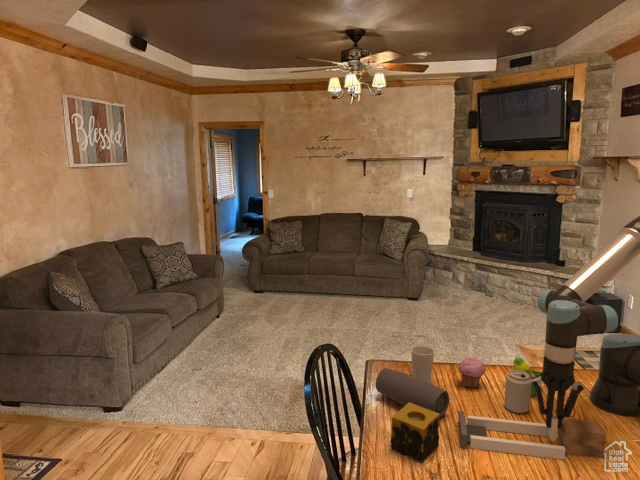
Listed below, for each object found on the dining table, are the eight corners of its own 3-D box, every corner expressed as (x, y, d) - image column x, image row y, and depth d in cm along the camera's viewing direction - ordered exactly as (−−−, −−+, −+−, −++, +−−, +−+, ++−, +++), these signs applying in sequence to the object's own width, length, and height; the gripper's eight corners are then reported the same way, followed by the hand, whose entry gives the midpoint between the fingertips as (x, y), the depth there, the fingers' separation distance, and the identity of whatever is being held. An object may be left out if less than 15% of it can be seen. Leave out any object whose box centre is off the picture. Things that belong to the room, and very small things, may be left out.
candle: (407, 432, 140) (408, 401, 139) (439, 445, 134) (441, 413, 132) (389, 449, 133) (390, 416, 131) (422, 463, 126) (423, 429, 125)
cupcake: (460, 377, 175) (462, 351, 173) (485, 382, 171) (487, 356, 169) (455, 388, 167) (457, 361, 165) (481, 393, 163) (483, 366, 161)
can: (531, 415, 149) (534, 379, 147) (506, 413, 150) (508, 377, 148) (526, 403, 156) (529, 369, 154) (502, 401, 158) (504, 367, 156)
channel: (553, 434, 139) (554, 424, 139) (564, 459, 128) (565, 449, 127) (467, 424, 144) (467, 415, 144) (470, 448, 133) (470, 438, 132)
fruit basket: (536, 400, 159) (539, 368, 157) (508, 393, 163) (510, 362, 161) (541, 386, 168) (544, 355, 166) (514, 380, 173) (516, 350, 171)
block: (596, 445, 134) (598, 422, 133) (603, 458, 128) (606, 434, 127) (557, 440, 136) (559, 417, 135) (562, 453, 130) (565, 429, 129)
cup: (406, 378, 174) (407, 347, 172) (425, 375, 176) (426, 344, 174) (417, 388, 167) (418, 356, 164) (437, 385, 169) (438, 353, 167)
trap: (484, 425, 144) (485, 413, 143) (489, 451, 131) (490, 438, 131) (458, 422, 145) (459, 410, 145) (460, 447, 133) (461, 434, 132)
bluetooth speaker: (449, 414, 150) (451, 384, 148) (433, 426, 144) (434, 395, 142) (391, 389, 166) (391, 362, 164) (374, 399, 160) (374, 371, 158)
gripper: (581, 354, 131) (573, 433, 136) (530, 350, 134) (524, 427, 138) (590, 366, 124) (581, 449, 128) (536, 361, 127) (529, 442, 131)
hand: (552, 437), depth 133 cm, fingers closed
